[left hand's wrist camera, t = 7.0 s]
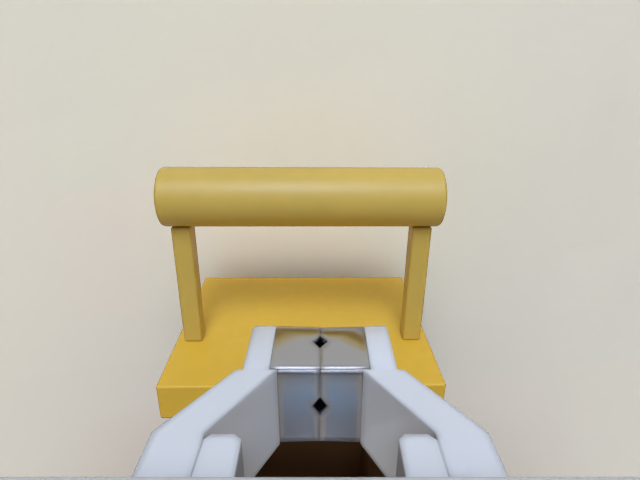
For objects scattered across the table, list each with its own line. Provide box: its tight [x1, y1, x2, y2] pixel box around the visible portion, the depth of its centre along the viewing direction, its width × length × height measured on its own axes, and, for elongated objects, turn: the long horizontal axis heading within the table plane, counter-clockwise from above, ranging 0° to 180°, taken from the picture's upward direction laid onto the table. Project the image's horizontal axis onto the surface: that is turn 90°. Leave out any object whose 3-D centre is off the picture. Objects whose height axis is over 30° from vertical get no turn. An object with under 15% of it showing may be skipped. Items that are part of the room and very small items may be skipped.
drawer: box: [154, 167, 447, 477], centre depth 19 cm, size 23×9×7 cm, turn 0°
